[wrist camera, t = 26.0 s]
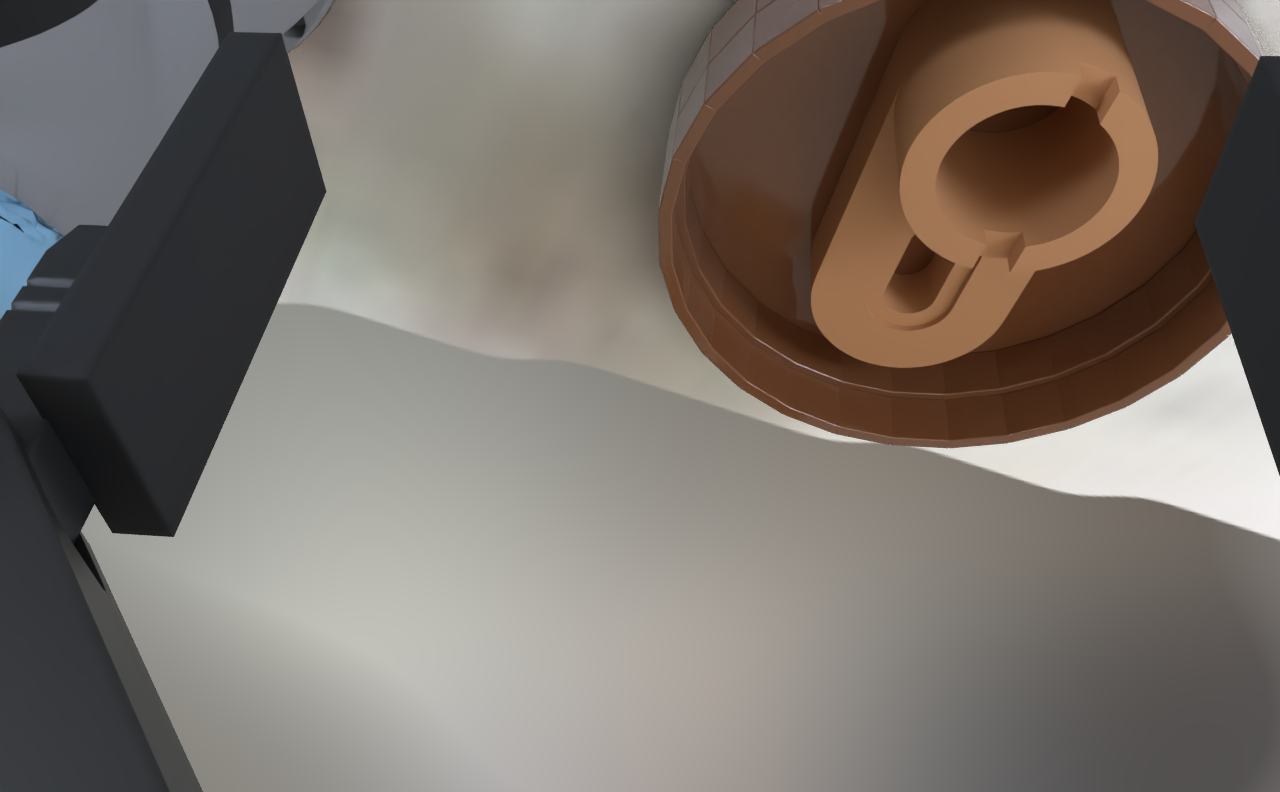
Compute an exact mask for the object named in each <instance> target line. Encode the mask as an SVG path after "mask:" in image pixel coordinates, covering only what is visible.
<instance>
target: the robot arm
mask: <svg viewBox="0 0 1280 792" xmlns="http://www.w3.org/2000/svg"><path fill="white" fill-rule="evenodd" d="M334 1H335V0H0V792H203V791H202V789H201V787H200V784H199V782H198V780H197V778H196V776H195V774H194V771H193V769H192V767H191V765H190V763H189V761H188V758H187V756H186V754H185V752H184V750H183V747H182V745H181V743H180V741H179V739H178V736H177V734H176V732H175V730H174V728H173V726H172V723H171V721H170V719H169V717H168V715H167V713H166V710H165V708H164V706H163V704H162V702H161V699H160V697H159V695H158V693H157V691H156V688H155V686H154V684H153V682H152V680H151V678H150V675H149V673H148V671H147V669H146V667H145V665H144V662H143V660H142V658H141V656H140V654H139V651H138V649H137V647H136V645H135V643H134V640H133V638H132V637H131V634H130V632H129V630H128V627H127V625H126V623H125V621H124V619H123V616H122V614H121V612H120V610H119V608H118V606H117V604H116V601H115V599H114V597H113V595H112V593H111V590H110V588H109V586H108V584H107V582H106V579H105V578H104V575H103V573H102V571H101V569H100V566H99V564H98V562H97V560H96V558H95V555H94V553H93V551H92V549H91V547H90V545H89V543H88V542H87V540H86V539H85V537H84V536H83V534H82V532H81V529H82V527H83V525H84V523H85V521H86V519H87V517H88V515H89V513H90V511H91V509H92V507H93V506H94V504H95V505H96V507H97V509H98V510H99V512H100V513H101V515H102V517H103V518H104V520H105V522H106V523H107V524H108V526H109V528H110V530H111V531H112V533H120V534H137V535H152V536H168V537H174V535H175V533H176V531H177V528H178V526H179V524H180V522H181V519H182V517H183V515H184V513H185V510H186V508H187V506H188V504H189V501H190V499H191V497H192V494H193V492H194V490H195V488H196V485H197V483H198V481H199V478H200V476H201V474H202V472H203V470H204V467H205V465H206V463H207V460H208V458H209V456H210V454H211V451H212V449H213V447H214V445H215V442H216V440H217V438H218V435H219V433H220V431H221V429H222V427H223V424H224V422H225V420H226V417H227V415H228V413H229V410H230V408H231V406H232V404H233V401H234V399H235V397H236V395H237V392H238V390H239V388H240V386H241V383H242V381H243V379H244V377H245V374H246V372H247V370H248V367H249V365H250V363H251V361H252V359H253V356H254V354H255V352H256V349H257V347H258V345H259V343H260V340H261V338H262V336H263V333H264V331H265V329H266V327H267V325H268V322H269V320H270V317H271V315H272V313H273V311H274V309H275V306H276V304H277V302H278V300H279V297H280V295H281V293H282V291H283V288H284V286H285V284H286V282H287V279H288V277H289V275H290V272H291V270H292V268H293V266H294V263H295V261H296V259H297V257H298V254H299V252H300V250H301V248H302V245H303V243H304V241H305V239H306V236H307V234H308V232H309V229H310V227H311V225H312V223H313V220H314V218H315V216H316V214H317V211H318V209H319V207H320V205H321V202H322V200H323V198H324V195H325V193H326V189H325V185H324V182H323V178H322V175H321V171H320V168H319V164H318V160H317V157H316V153H315V150H314V146H313V143H312V139H311V136H310V132H309V129H308V125H307V122H306V118H305V115H304V111H303V108H302V104H301V100H300V97H299V93H298V90H297V86H296V83H295V79H294V76H293V72H292V69H291V65H290V62H289V58H288V55H287V54H288V53H289V52H291V51H292V50H293V49H294V48H296V47H297V46H298V45H299V44H300V43H301V42H302V41H303V40H304V39H305V38H307V37H308V36H309V35H310V34H311V33H312V32H313V31H314V29H315V28H316V27H317V26H318V25H319V24H320V23H321V21H322V20H323V19H324V17H325V16H326V15H327V13H328V12H329V10H330V8H331V6H332V5H333V3H334ZM1194 223H1195V226H1196V229H1197V232H1198V235H1199V238H1200V241H1201V244H1202V247H1203V250H1204V253H1205V256H1206V259H1207V262H1208V265H1209V268H1210V271H1211V274H1212V277H1213V279H1214V282H1215V285H1216V288H1217V291H1218V294H1219V297H1220V300H1221V303H1222V306H1223V309H1224V312H1225V315H1226V318H1227V321H1228V324H1229V327H1230V330H1231V333H1232V336H1233V339H1234V342H1235V345H1236V348H1237V351H1238V354H1239V357H1240V359H1241V362H1242V365H1243V368H1244V371H1245V374H1246V377H1247V380H1248V383H1249V386H1250V389H1251V392H1252V395H1253V398H1254V401H1255V404H1256V407H1257V410H1258V413H1259V416H1260V419H1261V422H1262V425H1263V428H1264V431H1265V434H1266V437H1267V439H1268V442H1269V445H1270V448H1271V451H1272V454H1273V457H1274V460H1275V463H1276V466H1277V469H1278V472H1279V475H1280V56H1260V58H1259V61H1258V63H1257V66H1256V68H1255V71H1254V73H1253V76H1252V78H1251V81H1250V83H1249V86H1248V89H1247V91H1246V94H1245V96H1244V99H1243V101H1242V104H1241V106H1240V109H1239V111H1238V114H1237V116H1236V119H1235V121H1234V124H1233V126H1232V129H1231V131H1230V134H1229V136H1228V139H1227V141H1226V144H1225V146H1224V149H1223V151H1222V154H1221V156H1220V159H1219V161H1218V164H1217V166H1216V169H1215V171H1214V174H1213V176H1212V179H1211V181H1210V184H1209V186H1208V189H1207V191H1206V194H1205V196H1204V199H1203V201H1202V204H1201V206H1200V209H1199V212H1198V214H1197V217H1196V219H1195V222H1194Z"/></svg>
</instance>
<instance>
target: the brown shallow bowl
mask: <svg viewBox="0 0 1280 792" xmlns="http://www.w3.org/2000/svg"><path fill="white" fill-rule="evenodd" d="M926 1H927V0H737V2H736V3H735V4H734V5H733V6H732V7H731V8H730V9H729V10H728V11H727V12H726V14H725V15H724V16H723V17H722V18H721V19H720V20H719V21H718V22H717V23H716V24H715V26H714V27H713V28H712V30H711V31H710V33H709V35H708V37H707V38H706V40H705V42H704V44H703V46H702V47H701V49H700V51H699V53H698V55H697V56H696V58H695V60H694V62H693V64H692V65H691V67H690V69H689V71H688V73H687V74H686V76H685V78H684V80H683V83H682V85H681V88H680V92H679V96H678V100H677V104H676V108H675V112H674V116H673V120H672V124H671V127H670V131H669V136H668V143H667V150H666V157H665V165H664V172H663V179H662V187H661V194H660V201H659V208H658V235H659V263H660V267H661V270H662V274H663V277H664V280H665V283H666V286H667V289H668V292H669V295H670V298H671V301H672V304H673V308H674V310H675V312H676V314H677V316H678V317H679V319H680V320H681V322H682V323H683V325H684V326H685V328H686V329H687V331H688V332H689V334H690V335H691V337H692V338H693V340H694V341H695V343H696V344H697V346H698V348H699V349H700V351H701V352H702V353H703V354H704V355H705V356H706V357H707V358H708V359H709V360H710V361H711V362H712V363H713V364H714V365H715V366H717V367H718V368H719V369H720V370H721V371H722V372H723V373H724V374H725V375H726V376H727V377H728V378H729V379H730V380H732V381H733V382H734V383H735V384H736V385H737V386H738V387H739V388H741V389H742V390H744V391H746V392H747V393H749V394H751V395H752V396H754V397H755V398H757V399H759V400H760V401H762V402H764V403H765V404H767V405H769V406H770V407H772V408H774V409H775V410H777V411H779V412H780V413H782V414H784V415H786V416H789V417H791V418H794V419H797V420H799V421H802V422H805V423H807V424H810V425H813V426H815V427H818V428H821V429H823V430H826V431H828V432H831V433H835V434H838V435H843V436H848V437H853V438H858V439H863V440H868V441H873V442H877V443H882V444H888V445H890V444H891V445H898V446H917V447H936V448H958V447H969V446H981V445H992V444H1004V443H1009V442H1010V443H1011V442H1015V441H1020V440H1024V439H1028V438H1033V437H1037V436H1041V435H1046V434H1050V433H1054V432H1059V431H1063V430H1067V429H1071V428H1073V427H1076V426H1079V425H1081V424H1084V423H1086V422H1089V421H1091V420H1094V419H1097V418H1099V417H1102V416H1104V415H1107V414H1110V413H1112V412H1115V411H1117V410H1120V409H1123V408H1125V407H1127V406H1129V405H1131V404H1133V403H1135V402H1136V401H1138V400H1140V399H1141V398H1143V397H1145V396H1147V395H1148V394H1150V393H1152V392H1154V391H1155V390H1157V389H1159V388H1161V387H1162V386H1164V385H1166V384H1168V383H1169V382H1171V381H1173V380H1175V379H1176V378H1178V377H1180V376H1181V375H1183V374H1184V373H1185V372H1186V371H1188V370H1189V369H1190V368H1191V367H1192V366H1194V365H1195V364H1196V363H1197V362H1199V361H1200V360H1201V359H1202V358H1203V357H1205V356H1206V355H1207V354H1208V353H1209V352H1211V351H1212V350H1213V349H1214V348H1215V347H1217V346H1218V345H1219V344H1220V343H1221V342H1223V341H1224V340H1225V339H1226V338H1228V336H1229V335H1231V330H1230V327H1229V324H1228V321H1227V318H1226V315H1225V312H1224V309H1223V306H1222V303H1221V300H1220V297H1219V294H1218V291H1217V288H1216V285H1215V282H1214V279H1213V277H1212V274H1211V271H1210V268H1209V265H1208V262H1207V259H1206V256H1205V253H1204V250H1203V247H1202V244H1201V241H1200V238H1199V235H1198V232H1197V229H1196V226H1195V223H1194V222H1195V219H1196V217H1197V214H1198V212H1199V209H1200V206H1201V204H1202V201H1203V199H1204V196H1205V194H1206V191H1207V189H1208V186H1209V184H1210V181H1211V179H1212V176H1213V174H1214V171H1215V169H1216V166H1217V164H1218V161H1219V159H1220V156H1221V154H1222V151H1223V149H1224V146H1225V144H1226V141H1227V139H1228V136H1229V134H1230V131H1231V129H1232V126H1233V124H1234V121H1235V119H1236V116H1237V114H1238V111H1239V109H1240V106H1241V104H1242V101H1243V99H1244V96H1245V94H1246V91H1247V89H1248V86H1249V83H1250V81H1251V78H1252V76H1253V73H1254V71H1255V68H1256V66H1257V63H1258V61H1259V58H1260V56H1265V55H1264V52H1263V50H1262V48H1261V46H1260V44H1259V42H1258V40H1257V38H1256V36H1255V34H1254V32H1253V30H1252V28H1251V26H1250V24H1249V22H1248V21H1247V19H1246V17H1245V15H1244V13H1243V11H1242V9H1241V7H1240V5H1239V3H1238V1H1237V0H1107V1H1108V2H1109V4H1110V5H1111V7H1112V9H1113V11H1114V13H1115V15H1116V18H1117V21H1118V24H1119V27H1120V30H1121V33H1122V36H1123V39H1124V42H1125V45H1126V48H1127V51H1128V54H1129V57H1130V60H1131V63H1132V67H1133V70H1134V73H1135V76H1136V79H1137V82H1138V85H1139V88H1140V91H1141V94H1142V97H1143V100H1144V103H1145V106H1146V109H1147V112H1148V115H1149V118H1150V121H1151V124H1152V127H1153V131H1154V134H1155V137H1156V141H1157V147H1158V166H1157V173H1156V177H1155V181H1154V184H1153V186H1152V189H1151V191H1150V193H1149V195H1148V197H1147V199H1146V201H1145V203H1144V204H1143V206H1142V207H1141V209H1140V210H1139V212H1138V213H1137V214H1136V215H1135V217H1134V218H1133V219H1132V220H1131V221H1130V222H1129V223H1128V224H1127V225H1126V226H1125V227H1124V228H1123V229H1122V230H1121V231H1120V232H1119V233H1118V234H1117V235H1115V236H1114V237H1113V238H1112V239H1110V240H1109V241H1108V242H1106V243H1105V244H1103V245H1102V246H1100V247H1099V248H1097V249H1095V250H1093V251H1092V252H1090V253H1088V254H1086V255H1084V256H1082V257H1079V258H1077V259H1075V260H1072V261H1070V262H1067V263H1064V264H1061V265H1058V266H1055V267H1051V268H1047V269H1042V270H1037V271H1035V272H1034V274H1033V275H1032V277H1031V279H1030V280H1029V282H1028V283H1027V285H1026V287H1025V288H1024V290H1023V291H1022V293H1021V294H1020V296H1019V298H1018V299H1017V301H1016V302H1015V304H1014V306H1013V307H1012V309H1011V310H1010V312H1009V314H1008V315H1007V317H1006V318H1005V320H1004V321H1003V323H1002V324H1001V326H1000V327H999V328H998V329H997V331H996V332H995V333H994V334H993V335H992V336H991V337H990V338H988V339H987V340H986V341H985V342H984V343H982V344H981V345H980V346H978V347H977V348H975V349H973V350H972V351H970V352H968V353H966V354H964V355H962V356H960V357H957V358H955V359H952V360H949V361H946V362H943V363H939V364H935V365H930V366H923V367H913V368H897V367H886V366H880V365H875V364H871V363H868V362H864V361H861V360H859V359H856V358H854V357H852V356H850V355H848V354H846V353H844V352H843V351H841V350H840V349H838V348H837V347H836V346H834V345H833V344H832V343H831V342H830V341H829V340H828V339H827V338H826V337H825V336H824V335H823V333H822V332H821V331H820V329H819V327H818V326H817V324H816V322H815V319H814V317H813V313H812V309H811V249H812V244H813V241H814V238H815V235H816V233H817V230H818V228H819V226H820V223H821V221H822V218H823V216H824V214H825V211H826V209H827V207H828V204H829V202H830V200H831V197H832V195H833V193H834V190H835V188H836V185H837V183H838V181H839V178H840V176H841V174H842V171H843V169H844V167H845V164H846V162H847V160H848V157H849V155H850V152H851V150H852V148H853V145H854V143H855V141H856V138H857V136H858V134H859V131H860V129H861V127H862V124H863V122H864V120H865V117H866V115H867V112H868V110H869V108H870V105H871V103H872V101H873V98H874V96H875V94H876V91H877V89H878V87H879V84H880V82H881V79H882V77H883V75H884V72H885V70H886V68H887V65H888V63H889V61H890V58H891V56H892V54H893V51H894V49H895V46H896V44H897V42H898V39H899V37H900V35H901V33H902V32H903V30H904V28H905V26H906V25H907V23H908V22H909V20H910V19H911V18H912V16H913V15H914V14H915V13H916V11H917V10H918V9H919V8H920V7H921V6H922V5H923V4H924V3H925V2H926ZM1059 107H1060V106H1052V105H1032V106H1023V107H1018V108H1013V109H1009V110H1006V111H1003V112H1000V113H997V114H995V115H993V116H990V117H988V118H986V119H984V120H982V121H981V122H979V123H977V124H976V125H974V126H973V127H971V128H970V129H968V130H972V131H977V132H985V133H999V132H1007V131H1013V130H1017V129H1021V128H1024V127H1027V126H1029V125H1032V124H1034V123H1036V122H1038V121H1040V120H1042V119H1044V118H1045V117H1047V116H1048V115H1050V114H1051V113H1053V112H1054V111H1055V110H1057V109H1058V108H1059ZM934 255H935V252H934V251H932V250H931V249H930V248H929V247H928V246H926V245H925V244H924V243H923V242H922V241H921V240H920V239H919V238H918V237H917V235H916V234H915V235H914V236H913V237H912V238H911V240H910V242H909V244H908V246H907V248H906V250H905V252H904V254H903V256H902V258H901V260H900V262H899V264H898V266H897V268H896V270H895V272H894V273H897V274H902V275H908V274H914V273H917V272H920V271H922V270H923V269H925V268H926V267H927V266H928V265H929V264H930V262H931V260H932V258H933V257H934Z"/></svg>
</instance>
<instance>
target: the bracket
mask: <svg viewBox="0 0 1280 792" xmlns="http://www.w3.org/2000/svg"><path fill="white" fill-rule="evenodd" d="M1032 105H1052V106H1060V107H1059V108H1058V109H1057V110H1055V111H1054V112H1053V113H1051V114H1050V115H1048V116H1047V117H1045V118H1044V119H1042V120H1040V121H1038V122H1036V123H1034V124H1032V125H1029V126H1027V127H1024V128H1021V129H1017V130H1013V131H1007V132H999V133H985V132H977V131H972V130H968V129H970V128H971V127H973V126H974V125H976V124H977V123H979V122H981V121H982V120H984V119H986V118H988V117H990V116H993V115H995V114H997V113H1000V112H1003V111H1006V110H1009V109H1013V108H1018V107H1023V106H1032ZM1157 166H1158V147H1157V141H1156V137H1155V134H1154V131H1153V127H1152V124H1151V121H1150V118H1149V115H1148V112H1147V109H1146V106H1145V103H1144V100H1143V97H1142V94H1141V91H1140V88H1139V85H1138V82H1137V79H1136V76H1135V73H1134V70H1133V67H1132V63H1131V60H1130V57H1129V54H1128V51H1127V48H1126V45H1125V42H1124V39H1123V36H1122V33H1121V30H1120V27H1119V24H1118V21H1117V18H1116V15H1115V13H1114V11H1113V9H1112V7H1111V5H1110V4H1109V2H1108V1H1107V0H927V1H926V2H925V3H924V4H923V5H922V6H921V7H920V8H919V9H918V10H917V11H916V13H915V14H914V15H913V16H912V18H911V19H910V20H909V22H908V23H907V25H906V26H905V28H904V30H903V32H902V33H901V35H900V37H899V39H898V42H897V44H896V46H895V49H894V51H893V54H892V56H891V58H890V61H889V63H888V65H887V68H886V70H885V72H884V75H883V77H882V79H881V82H880V84H879V87H878V89H877V91H876V94H875V96H874V98H873V101H872V103H871V105H870V108H869V110H868V112H867V115H866V117H865V120H864V122H863V124H862V127H861V129H860V131H859V134H858V136H857V138H856V141H855V143H854V145H853V148H852V150H851V152H850V155H849V157H848V160H847V162H846V164H845V167H844V169H843V171H842V174H841V176H840V178H839V181H838V183H837V185H836V188H835V190H834V193H833V195H832V197H831V200H830V202H829V204H828V207H827V209H826V211H825V214H824V216H823V218H822V221H821V223H820V226H819V228H818V230H817V233H816V235H815V238H814V241H813V244H812V249H811V309H812V313H813V317H814V319H815V322H816V324H817V326H818V327H819V329H820V331H821V332H822V333H823V335H824V336H825V337H826V338H827V339H828V340H829V341H830V342H831V343H832V344H833V345H834V346H836V347H837V348H838V349H840V350H841V351H843V352H844V353H846V354H848V355H850V356H852V357H854V358H856V359H859V360H861V361H864V362H868V363H871V364H875V365H880V366H886V367H897V368H913V367H923V366H930V365H935V364H939V363H943V362H946V361H949V360H952V359H955V358H957V357H960V356H962V355H964V354H966V353H968V352H970V351H972V350H973V349H975V348H977V347H978V346H980V345H981V344H982V343H984V342H985V341H986V340H987V339H988V338H990V337H991V336H992V335H993V334H994V333H995V332H996V331H997V329H998V328H999V327H1000V326H1001V324H1002V323H1003V321H1004V320H1005V318H1006V317H1007V315H1008V314H1009V312H1010V310H1011V309H1012V307H1013V306H1014V304H1015V302H1016V301H1017V299H1018V298H1019V296H1020V294H1021V293H1022V291H1023V290H1024V288H1025V287H1026V285H1027V283H1028V282H1029V280H1030V279H1031V277H1032V275H1033V274H1034V272H1035V271H1037V270H1042V269H1047V268H1051V267H1055V266H1058V265H1061V264H1064V263H1067V262H1070V261H1072V260H1075V259H1077V258H1079V257H1082V256H1084V255H1086V254H1088V253H1090V252H1092V251H1093V250H1095V249H1097V248H1099V247H1100V246H1102V245H1103V244H1105V243H1106V242H1108V241H1109V240H1110V239H1112V238H1113V237H1114V236H1115V235H1117V234H1118V233H1119V232H1120V231H1121V230H1122V229H1123V228H1124V227H1125V226H1126V225H1127V224H1128V223H1129V222H1130V221H1131V220H1132V219H1133V218H1134V217H1135V215H1136V214H1137V213H1138V212H1139V210H1140V209H1141V207H1142V206H1143V204H1144V203H1145V201H1146V199H1147V197H1148V195H1149V193H1150V191H1151V189H1152V186H1153V184H1154V181H1155V177H1156V173H1157ZM915 234H916V235H917V237H918V238H919V239H920V240H921V241H922V242H923V243H924V244H925V245H926V246H928V247H929V248H930V249H931V250H932V251H934V252H935V255H934V257H933V258H932V260H931V262H930V264H929V265H928V266H927V267H926V268H925V269H923V270H922V271H920V272H917V273H914V274H908V275H902V274H897V273H894V272H895V270H896V268H897V266H898V264H899V262H900V260H901V258H902V256H903V254H904V252H905V250H906V248H907V246H908V244H909V242H910V240H911V238H912V237H913V236H914V235H915Z"/></svg>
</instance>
